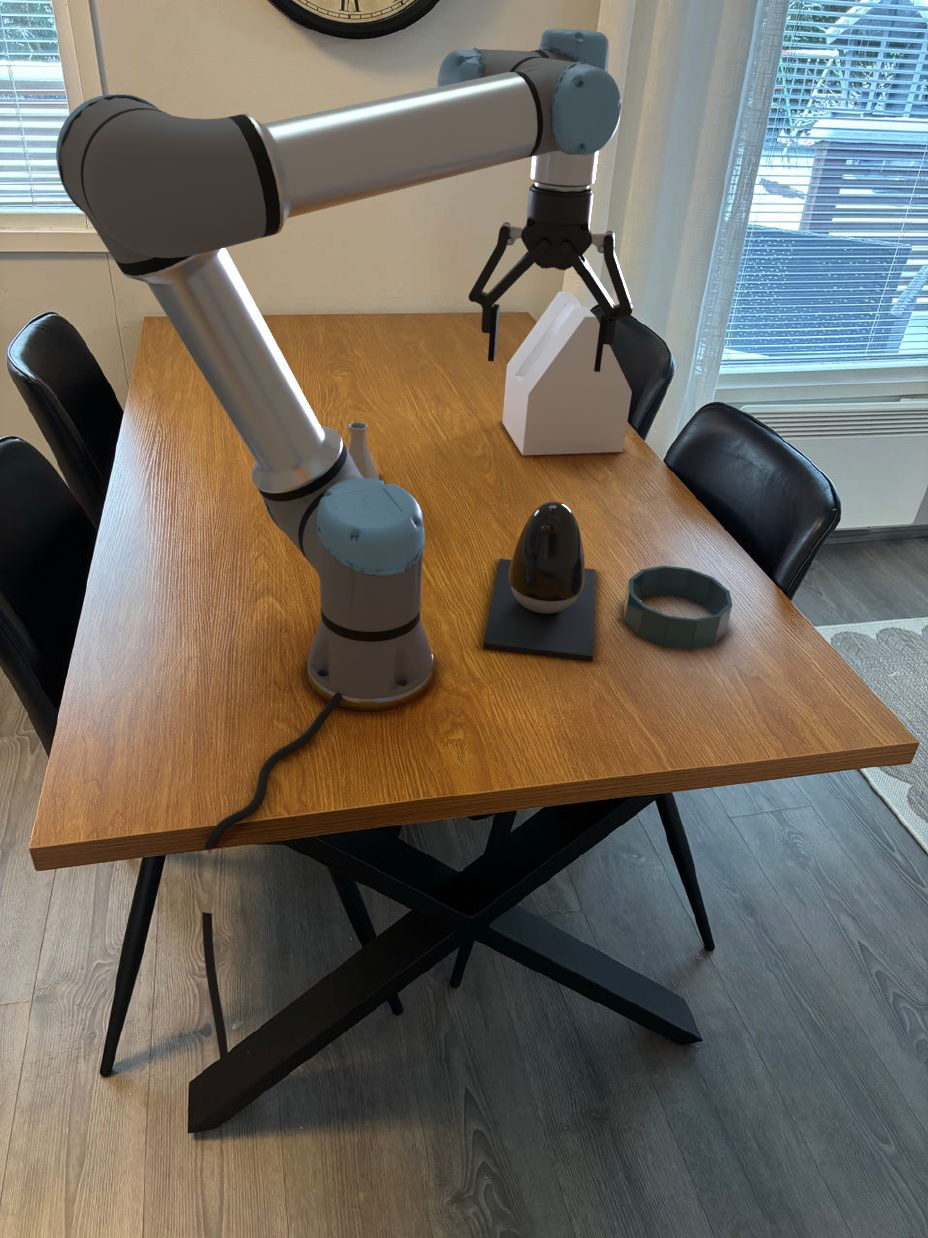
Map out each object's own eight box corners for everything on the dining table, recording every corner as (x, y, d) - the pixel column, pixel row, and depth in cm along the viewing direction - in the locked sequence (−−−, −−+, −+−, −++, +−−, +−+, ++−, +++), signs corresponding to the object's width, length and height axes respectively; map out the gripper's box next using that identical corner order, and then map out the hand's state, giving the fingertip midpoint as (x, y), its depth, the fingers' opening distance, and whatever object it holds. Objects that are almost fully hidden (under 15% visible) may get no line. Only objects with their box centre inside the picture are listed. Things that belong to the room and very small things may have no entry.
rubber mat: (592, 661, 123) (593, 656, 122) (483, 648, 124) (483, 643, 123) (594, 573, 141) (595, 569, 140) (499, 563, 142) (499, 558, 141)
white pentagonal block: (522, 455, 175) (535, 316, 161) (502, 422, 187) (513, 291, 173) (622, 451, 179) (643, 316, 165) (596, 419, 191) (614, 291, 177)
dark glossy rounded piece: (497, 615, 129) (506, 514, 120) (516, 577, 137) (526, 480, 129) (572, 631, 126) (586, 529, 118) (586, 592, 135) (601, 494, 126)
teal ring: (729, 654, 126) (736, 625, 123) (624, 642, 127) (629, 613, 124) (719, 599, 137) (726, 572, 134) (623, 588, 138) (628, 561, 135)
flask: (373, 493, 159) (373, 436, 153) (331, 487, 160) (329, 430, 154) (384, 475, 164) (385, 419, 159) (344, 469, 165) (343, 414, 160)
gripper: (668, 187, 114) (641, 362, 126) (460, 171, 116) (453, 344, 128) (670, 199, 108) (641, 382, 120) (450, 181, 110) (444, 363, 122)
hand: (544, 363), depth 124 cm, fingers open, 13 cm apart
